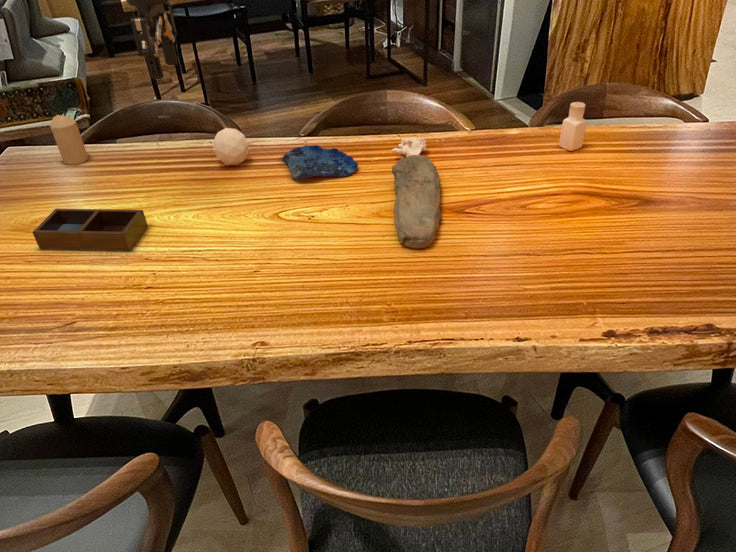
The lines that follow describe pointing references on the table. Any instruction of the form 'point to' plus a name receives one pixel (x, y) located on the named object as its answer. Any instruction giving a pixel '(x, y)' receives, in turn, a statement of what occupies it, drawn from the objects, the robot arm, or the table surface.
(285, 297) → the table surface
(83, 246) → the box
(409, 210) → the long grey stone
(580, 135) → the pepper shaker
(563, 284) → the table surface
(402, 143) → the pelvis model
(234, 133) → the geometric ball
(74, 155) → the candle
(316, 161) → the rock
